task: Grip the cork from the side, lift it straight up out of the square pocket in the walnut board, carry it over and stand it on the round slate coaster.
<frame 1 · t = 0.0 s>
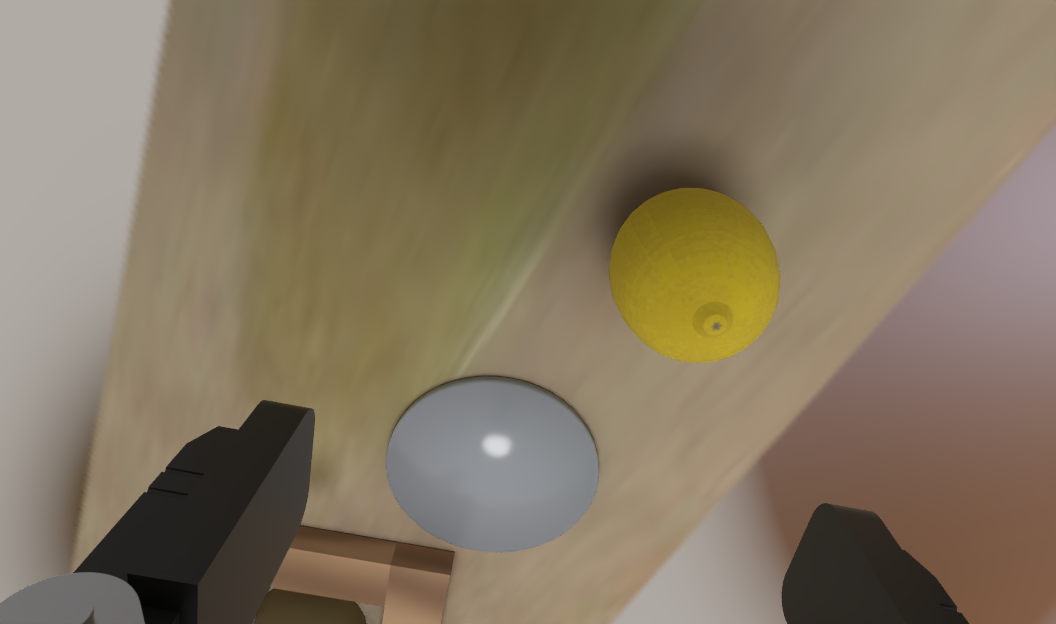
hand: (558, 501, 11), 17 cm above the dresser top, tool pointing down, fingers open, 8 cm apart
slate coaster: (493, 465, 32), on the dresser top
cork: (313, 617, 37), resting in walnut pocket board
lemon: (671, 231, 27), on the dresser top
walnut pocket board: (312, 621, 37), on the dresser top
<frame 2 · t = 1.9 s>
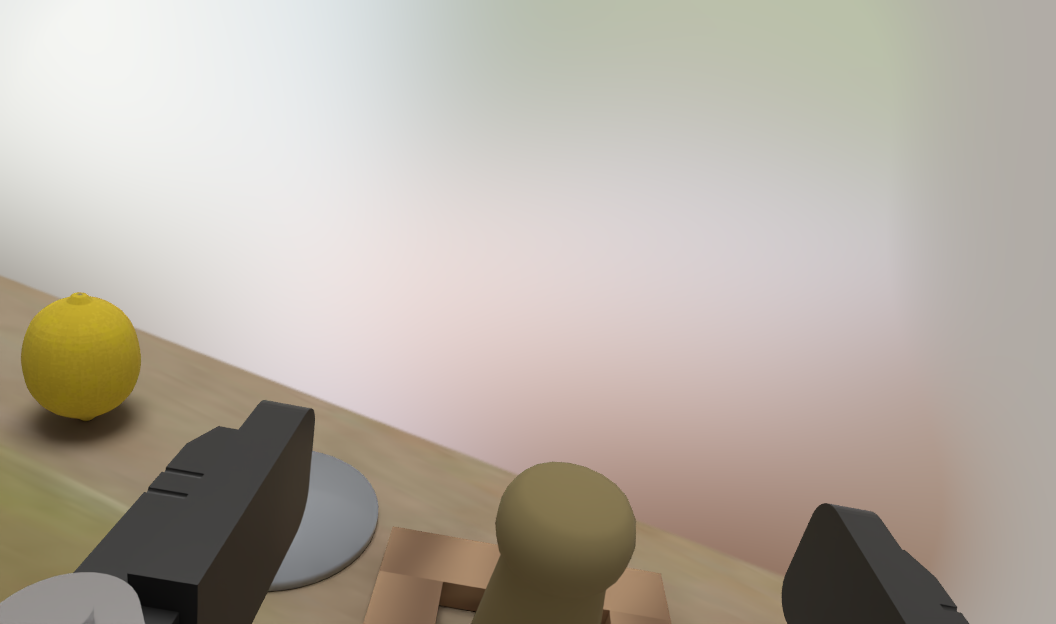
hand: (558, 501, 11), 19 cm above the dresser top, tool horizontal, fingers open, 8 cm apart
slate coaster: (279, 515, 35), on the dresser top
lemon: (87, 421, 39), on the dresser top
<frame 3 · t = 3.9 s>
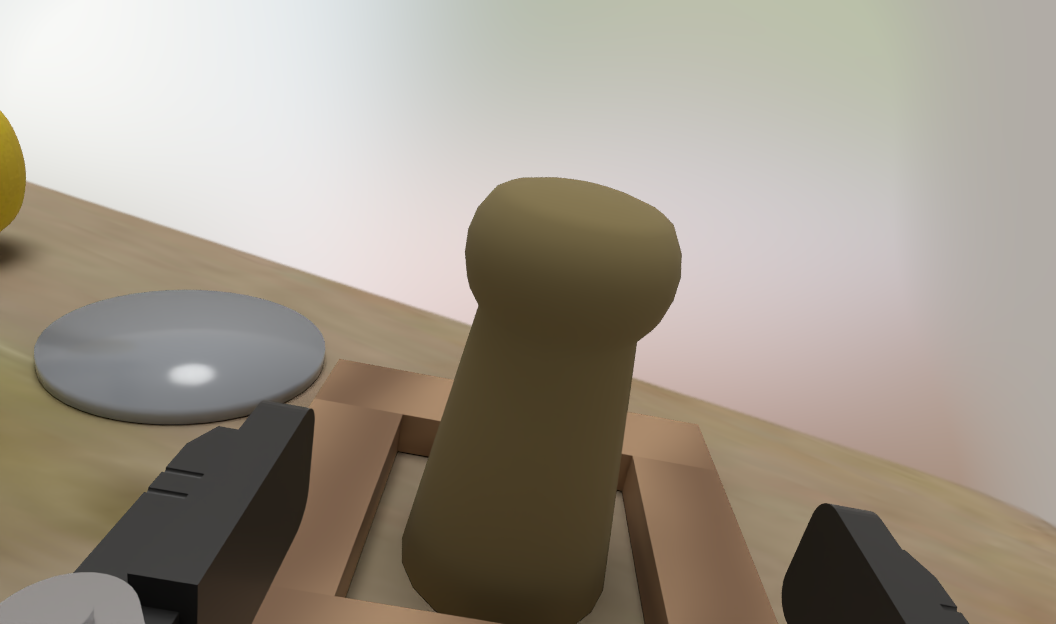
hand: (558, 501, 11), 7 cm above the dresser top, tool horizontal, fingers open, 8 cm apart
slate coaster: (192, 353, 26), on the dresser top
cork: (503, 557, 20), resting in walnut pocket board
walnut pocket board: (504, 551, 20), on the dresser top
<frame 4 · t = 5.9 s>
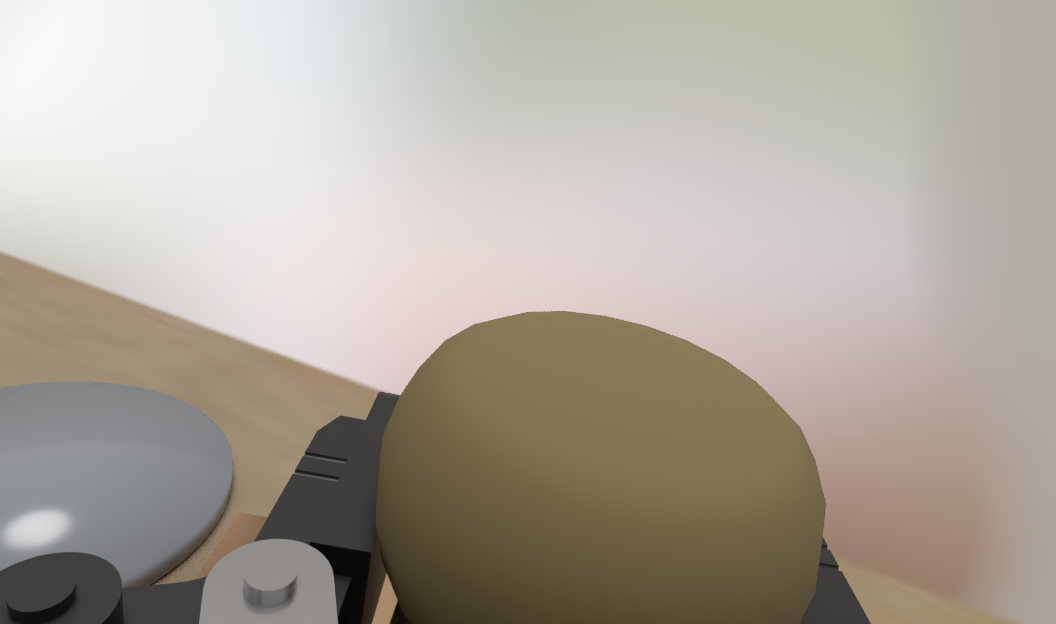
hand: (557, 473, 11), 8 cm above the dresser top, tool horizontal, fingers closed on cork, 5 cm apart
slate coaster: (32, 494, 18), on the dresser top
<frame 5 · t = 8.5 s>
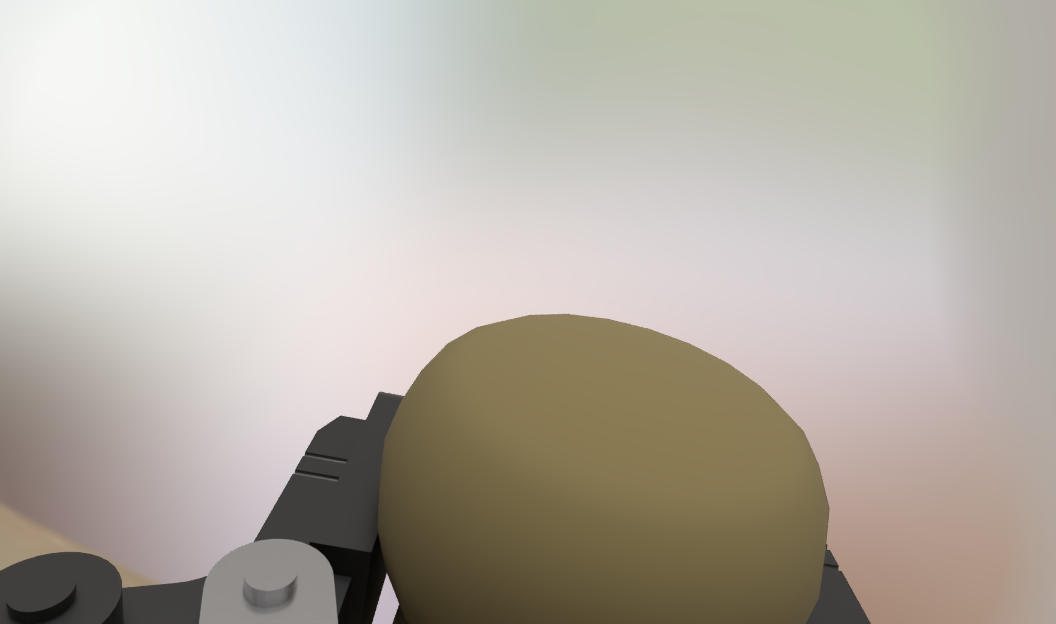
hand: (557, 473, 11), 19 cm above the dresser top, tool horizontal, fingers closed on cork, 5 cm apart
when the fingers open (9 cm above the dresser top, at t = 11.0 s): cork drops 1 cm, resting on slate coaster.
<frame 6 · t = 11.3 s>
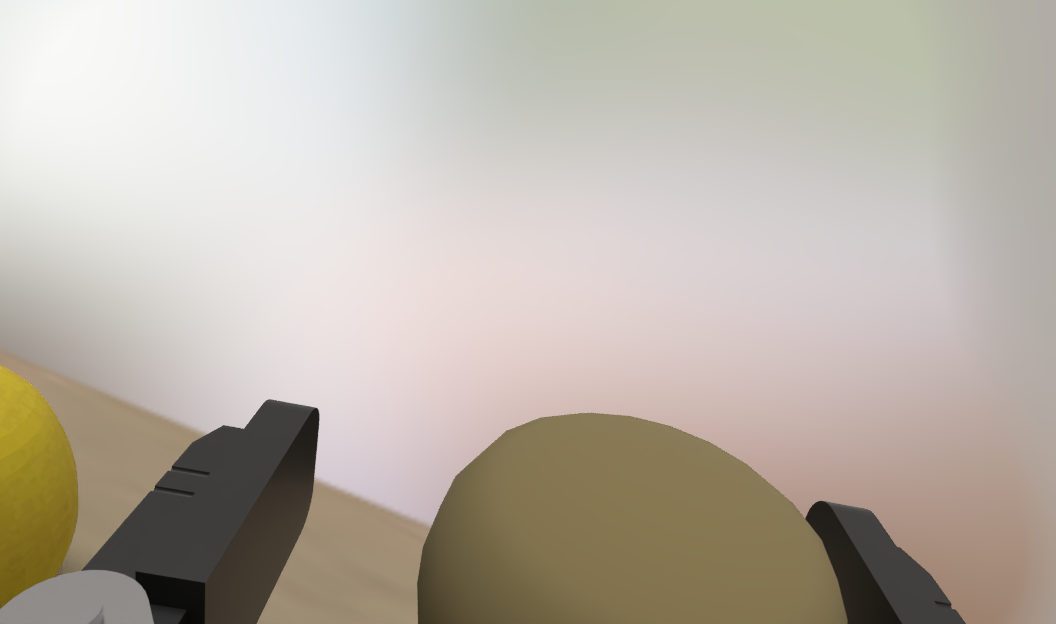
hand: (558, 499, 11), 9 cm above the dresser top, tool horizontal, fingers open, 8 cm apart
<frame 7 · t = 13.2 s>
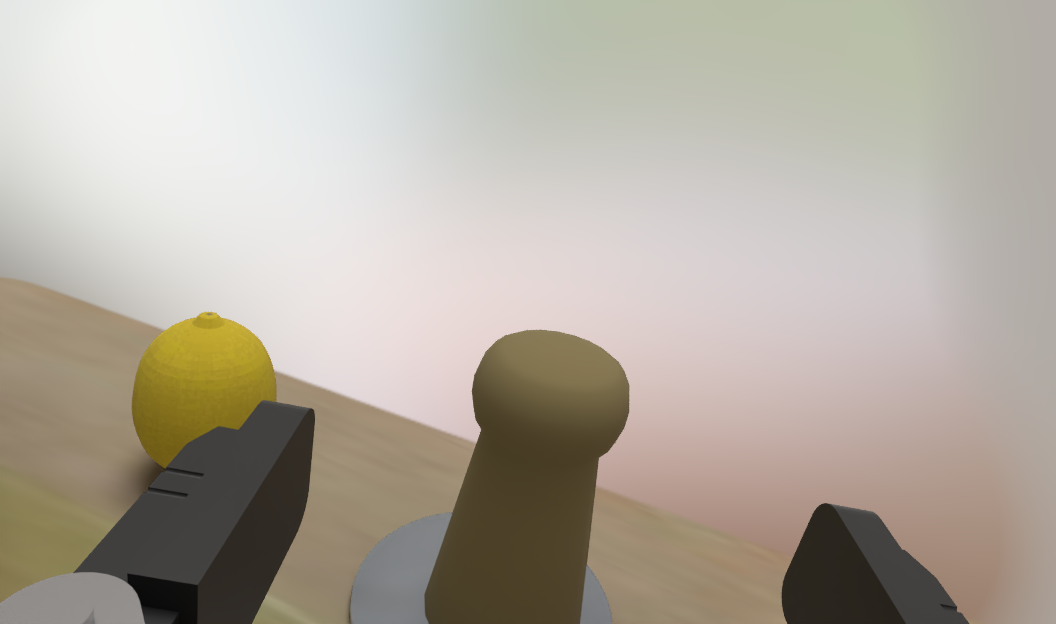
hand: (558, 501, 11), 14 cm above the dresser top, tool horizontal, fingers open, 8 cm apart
slate coaster: (482, 609, 26), on the dresser top
cork: (502, 609, 26), resting on slate coaster
lemon: (206, 480, 30), on the dresser top
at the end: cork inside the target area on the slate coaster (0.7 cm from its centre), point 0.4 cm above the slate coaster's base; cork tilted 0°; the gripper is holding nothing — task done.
